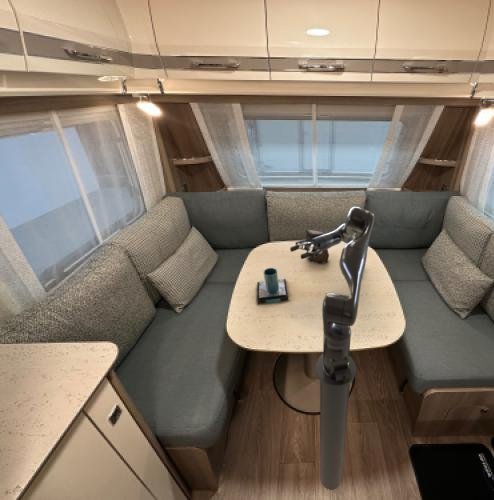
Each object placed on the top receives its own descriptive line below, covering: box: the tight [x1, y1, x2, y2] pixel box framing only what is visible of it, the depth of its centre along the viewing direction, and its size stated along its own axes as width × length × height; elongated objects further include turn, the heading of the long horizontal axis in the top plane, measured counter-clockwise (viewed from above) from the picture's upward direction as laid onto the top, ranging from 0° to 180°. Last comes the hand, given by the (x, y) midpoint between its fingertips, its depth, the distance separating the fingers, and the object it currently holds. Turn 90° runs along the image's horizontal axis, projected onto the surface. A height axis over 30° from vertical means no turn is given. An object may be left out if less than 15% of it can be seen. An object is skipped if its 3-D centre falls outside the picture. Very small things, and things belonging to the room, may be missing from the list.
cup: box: [263, 267, 279, 292], centre depth 134 cm, size 7×7×10 cm
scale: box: [256, 278, 289, 305], centre depth 137 cm, size 16×15×3 cm
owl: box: [305, 229, 330, 264], centre depth 160 cm, size 13×13×20 cm
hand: (295, 253), depth 123 cm, fingers open, 8 cm apart
